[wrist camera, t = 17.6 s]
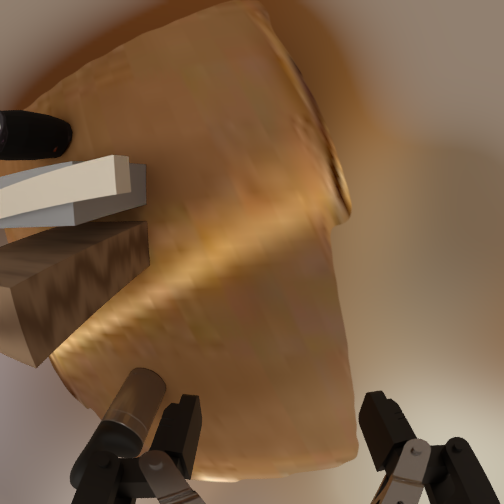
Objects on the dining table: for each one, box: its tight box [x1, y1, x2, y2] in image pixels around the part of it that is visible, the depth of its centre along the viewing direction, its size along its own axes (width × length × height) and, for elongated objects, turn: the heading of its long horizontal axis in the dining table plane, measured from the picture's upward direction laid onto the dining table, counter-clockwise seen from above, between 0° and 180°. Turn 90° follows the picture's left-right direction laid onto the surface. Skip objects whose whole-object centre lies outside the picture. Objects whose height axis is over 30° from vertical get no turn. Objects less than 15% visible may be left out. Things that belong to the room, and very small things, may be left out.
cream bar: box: [0, 155, 131, 219], centre depth 23 cm, size 4×26×3 cm, turn 94°
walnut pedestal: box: [0, 221, 150, 368], centre depth 33 cm, size 8×18×32 cm, turn 89°
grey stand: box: [0, 161, 146, 228], centre depth 35 cm, size 7×18×21 cm, turn 89°
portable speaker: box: [0, 110, 72, 160], centre depth 33 cm, size 9×9×20 cm
